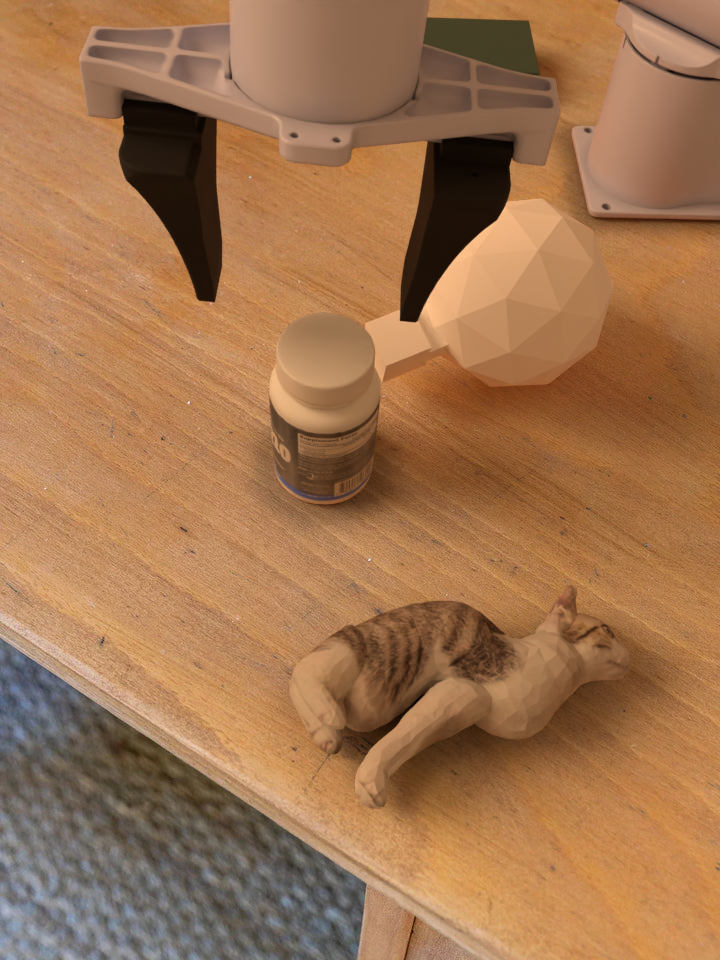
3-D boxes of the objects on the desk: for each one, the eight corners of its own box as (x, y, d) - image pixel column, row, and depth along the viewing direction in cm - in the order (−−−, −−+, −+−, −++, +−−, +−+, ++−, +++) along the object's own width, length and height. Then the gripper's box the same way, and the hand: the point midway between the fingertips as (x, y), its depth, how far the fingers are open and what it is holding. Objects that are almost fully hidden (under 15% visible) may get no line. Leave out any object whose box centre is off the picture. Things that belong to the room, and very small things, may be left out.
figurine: (582, 1084, 28) (874, 782, 34) (273, 659, 34) (567, 462, 39) (542, 1078, 32) (811, 807, 37) (270, 697, 37) (539, 512, 43)
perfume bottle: (536, 233, 51) (334, 312, 49) (585, 132, 42) (340, 224, 40) (609, 372, 49) (403, 459, 47) (677, 298, 40) (426, 401, 38)
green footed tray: (522, 52, 63) (529, 20, 61) (532, 105, 60) (540, 73, 58) (375, 48, 63) (377, 15, 61) (377, 101, 60) (379, 68, 58)
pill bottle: (271, 426, 45) (264, 305, 38) (368, 422, 46) (378, 301, 39) (275, 510, 43) (267, 396, 36) (377, 505, 43) (390, 391, 36)
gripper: (21, -49, 22) (97, 350, 33) (619, 21, 23) (500, 389, 34) (86, -166, 26) (134, 222, 37) (590, -104, 27) (493, 260, 38)
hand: (309, 294), depth 36 cm, fingers open, 7 cm apart
